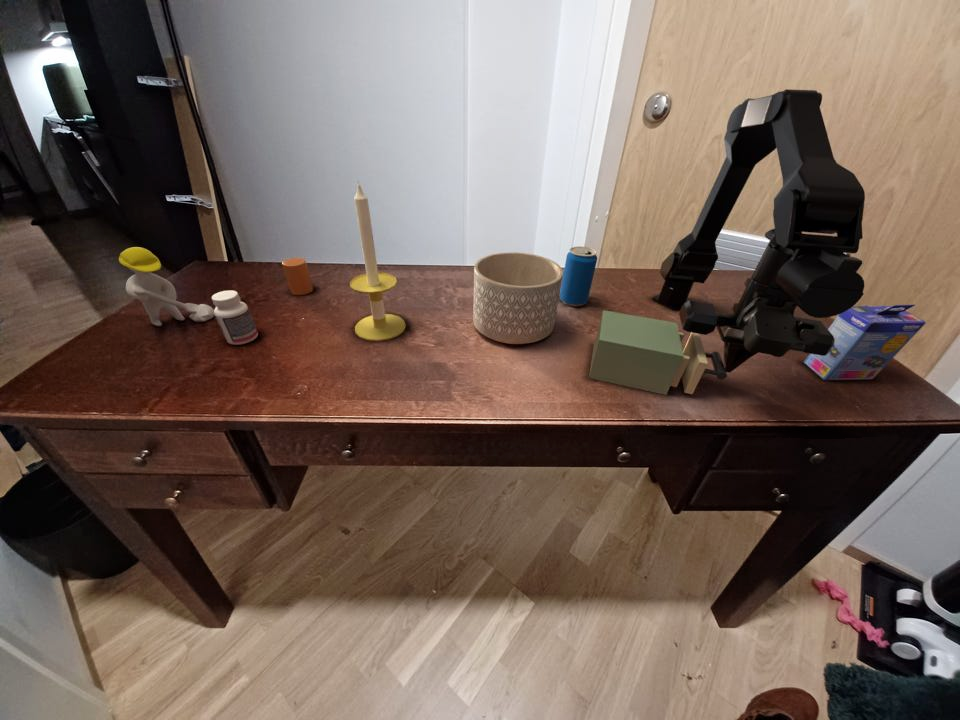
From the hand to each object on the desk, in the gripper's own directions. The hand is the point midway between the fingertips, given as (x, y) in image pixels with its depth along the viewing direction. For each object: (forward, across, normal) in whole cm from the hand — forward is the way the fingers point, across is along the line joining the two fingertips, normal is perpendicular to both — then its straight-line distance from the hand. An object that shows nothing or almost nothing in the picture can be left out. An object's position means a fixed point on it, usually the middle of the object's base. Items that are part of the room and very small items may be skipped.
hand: (726, 370), depth 59 cm
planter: (+4, -37, +6) cm, 38 cm away
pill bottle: (+4, -84, -16) cm, 86 cm away
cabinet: (+4, -15, 0) cm, 15 cm away
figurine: (+4, -100, -16) cm, 101 cm away
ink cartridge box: (+4, +22, +13) cm, 26 cm away
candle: (+4, -62, -4) cm, 62 cm away
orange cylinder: (+3, -88, +4) cm, 88 cm away
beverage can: (+4, -27, +23) cm, 35 cm away
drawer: (+3, -8, 0) cm, 9 cm away
